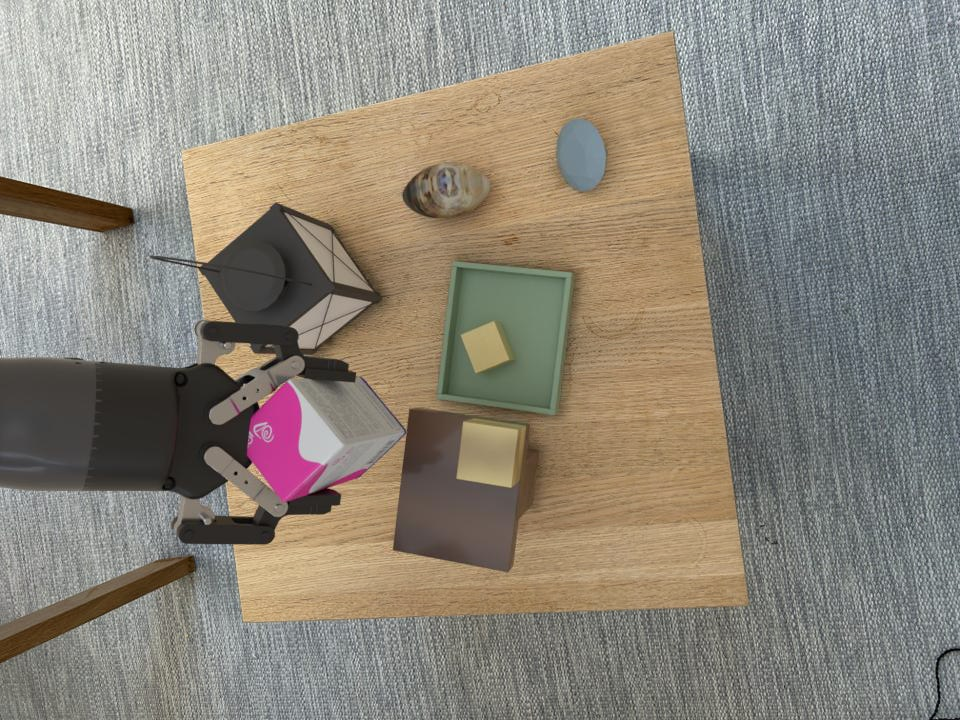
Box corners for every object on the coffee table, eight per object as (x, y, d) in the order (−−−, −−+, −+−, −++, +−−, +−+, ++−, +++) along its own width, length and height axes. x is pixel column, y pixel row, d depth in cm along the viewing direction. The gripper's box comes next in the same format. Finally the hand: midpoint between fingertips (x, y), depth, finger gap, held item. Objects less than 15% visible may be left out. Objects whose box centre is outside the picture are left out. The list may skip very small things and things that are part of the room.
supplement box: (360, 373, 59) (290, 375, 48) (409, 432, 58) (349, 448, 47) (308, 423, 60) (227, 436, 49) (356, 481, 59) (284, 509, 48)
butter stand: (549, 516, 84) (499, 584, 59) (462, 501, 87) (377, 561, 61) (562, 408, 84) (518, 429, 58) (474, 396, 86) (394, 411, 61)
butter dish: (558, 413, 84) (554, 415, 81) (443, 397, 87) (435, 398, 84) (575, 275, 84) (572, 272, 81) (459, 264, 87) (452, 260, 84)
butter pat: (493, 320, 82) (500, 322, 85) (460, 334, 83) (468, 336, 86) (509, 359, 81) (515, 359, 85) (475, 373, 82) (482, 373, 86)
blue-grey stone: (620, 101, 80) (584, 107, 77) (641, 172, 80) (607, 180, 77) (574, 128, 86) (540, 134, 83) (595, 194, 87) (561, 202, 84)
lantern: (384, 299, 89) (261, 269, 62) (312, 356, 91) (162, 352, 64) (331, 223, 91) (188, 162, 63) (261, 281, 93) (94, 246, 65)
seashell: (492, 165, 86) (475, 145, 78) (499, 215, 86) (482, 201, 78) (412, 181, 88) (388, 163, 80) (418, 230, 88) (395, 217, 80)
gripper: (71, 567, 41) (353, 554, 50) (101, 303, 41) (379, 336, 50) (63, 529, 48) (314, 524, 56) (88, 301, 47) (337, 330, 56)
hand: (344, 436), depth 53 cm, fingers closed on supplement box, 8 cm apart
